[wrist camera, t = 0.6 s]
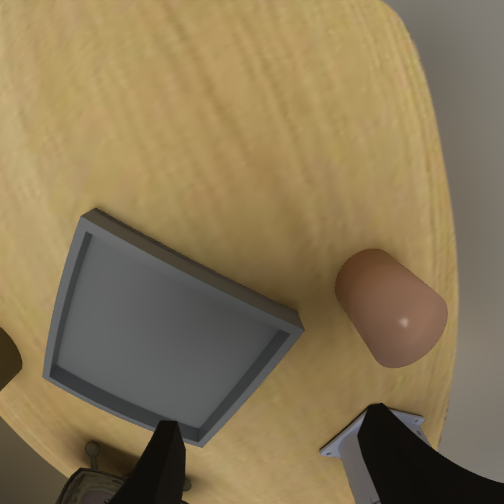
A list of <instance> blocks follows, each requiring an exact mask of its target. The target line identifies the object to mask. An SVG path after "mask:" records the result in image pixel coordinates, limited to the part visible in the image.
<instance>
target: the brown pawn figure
mask: <svg viewBox="0 0 504 504" xmlns="http://www.w3.org/2000/svg"><path fill="white" fill-rule="evenodd" d="M21 369H22V360H21V356H20V353H19V351H18V349H17V347H16V345H15V344H14V342H13V341H12V339H11V338H10V337H9V335H8V334H7V333H6V332H5V331H4V330H3V329H2V328H1V327H0V391H1V390H2V389H3V388H4V387H5V386H6V385H7V384H8V383H9V382H10V381H11V380H12V379H13V378H14V377H15V376H16V375H17V374H18V373H19V371H20V370H21Z"/></svg>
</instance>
